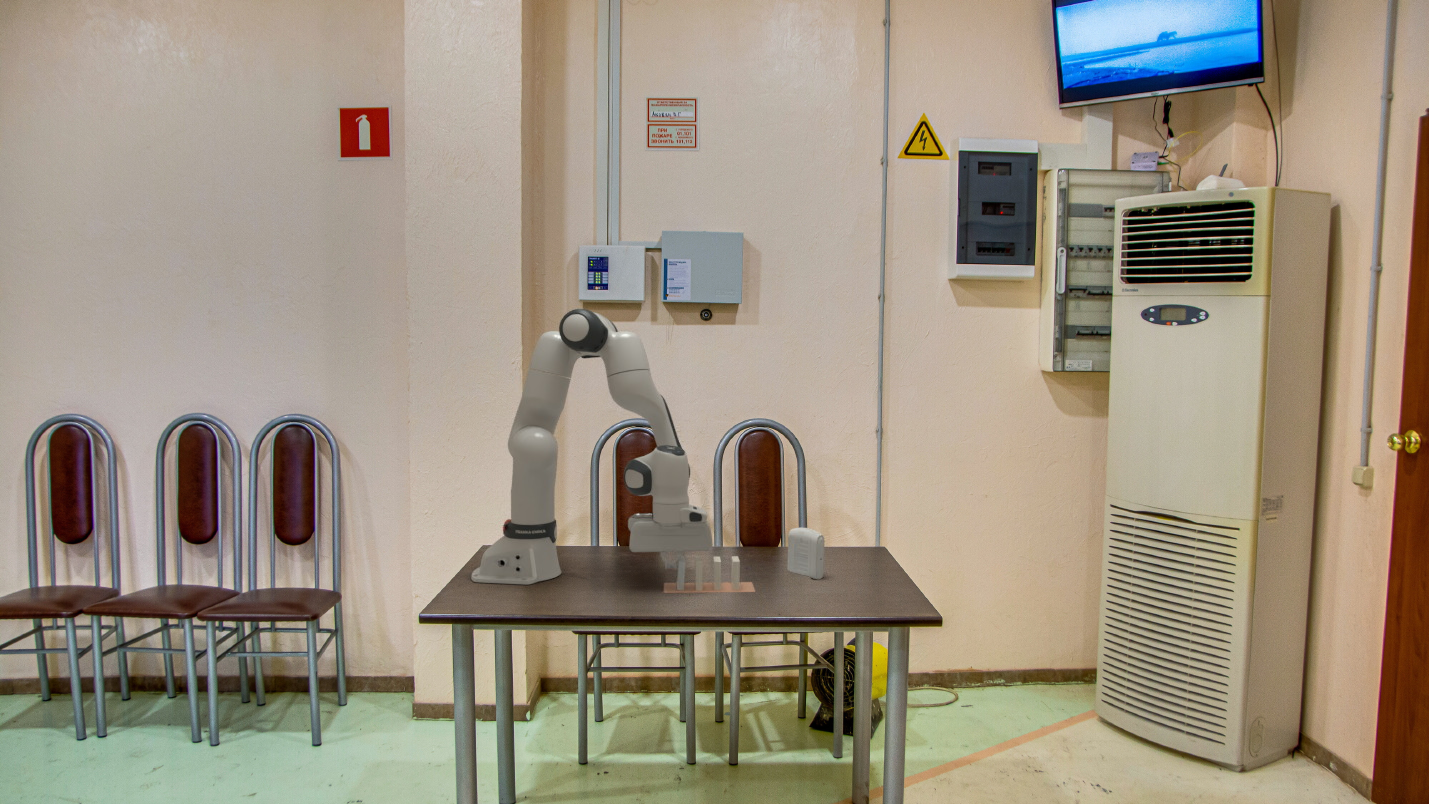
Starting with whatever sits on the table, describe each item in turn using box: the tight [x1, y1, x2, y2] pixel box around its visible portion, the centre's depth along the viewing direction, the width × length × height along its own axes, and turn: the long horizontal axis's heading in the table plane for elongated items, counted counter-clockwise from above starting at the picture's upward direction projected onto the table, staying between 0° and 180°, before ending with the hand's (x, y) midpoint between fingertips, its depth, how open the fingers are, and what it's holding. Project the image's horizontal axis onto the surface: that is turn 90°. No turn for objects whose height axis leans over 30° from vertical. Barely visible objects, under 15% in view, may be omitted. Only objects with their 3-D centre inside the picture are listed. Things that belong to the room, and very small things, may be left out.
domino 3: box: [712, 556, 722, 590], centre depth 192 cm, size 2×5×7 cm, turn 4°
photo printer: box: [787, 527, 826, 580], centre depth 205 cm, size 10×4×12 cm, turn 47°
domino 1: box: [676, 556, 687, 590], centre depth 191 cm, size 2×5×7 cm, turn 3°
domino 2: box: [694, 556, 704, 591], centre depth 191 cm, size 2×5×7 cm, turn 4°
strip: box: [663, 581, 756, 594], centre depth 192 cm, size 22×8×1 cm, turn 93°
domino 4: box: [730, 555, 741, 590], centre depth 192 cm, size 2×5×7 cm, turn 3°
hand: (671, 569), depth 191 cm, fingers closed
